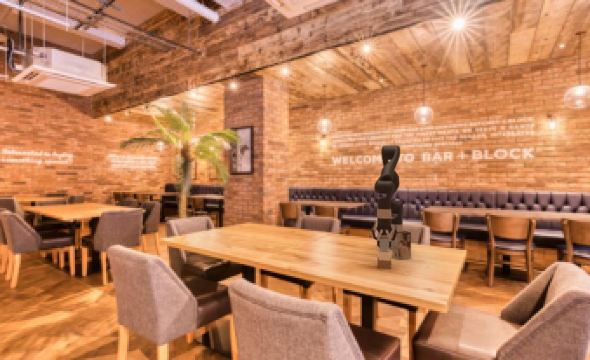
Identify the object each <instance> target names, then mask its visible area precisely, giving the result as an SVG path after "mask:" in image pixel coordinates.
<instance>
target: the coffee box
mask: <svg viewBox="0 0 590 360" xmlns="http://www.w3.org/2000/svg"><path fill="white" fill-rule="evenodd" d="M393 234H394V233H393V232H392V238H393ZM391 250H392V258H394V259H396V260H398V261H399V260H408V259H412V233H411V232H410V231H407V230H403V231H397V234H396V237H395V240H393V241H392V249H391Z"/></svg>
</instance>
